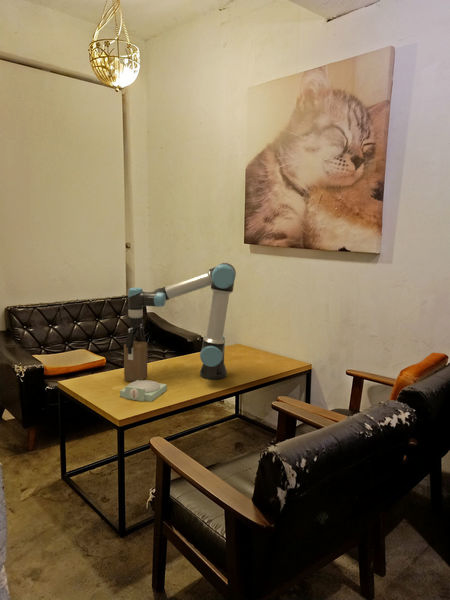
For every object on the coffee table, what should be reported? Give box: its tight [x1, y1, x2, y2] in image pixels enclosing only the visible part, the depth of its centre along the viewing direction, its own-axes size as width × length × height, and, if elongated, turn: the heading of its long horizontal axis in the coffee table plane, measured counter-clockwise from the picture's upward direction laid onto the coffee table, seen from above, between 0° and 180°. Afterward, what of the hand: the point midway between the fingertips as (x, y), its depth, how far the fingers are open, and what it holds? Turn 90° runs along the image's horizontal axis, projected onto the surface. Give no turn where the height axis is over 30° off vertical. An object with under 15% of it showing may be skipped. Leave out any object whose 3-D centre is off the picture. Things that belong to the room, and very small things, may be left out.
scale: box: [119, 379, 168, 403], centre depth 226 cm, size 17×19×6 cm
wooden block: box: [123, 340, 148, 382], centre depth 246 cm, size 10×10×20 cm
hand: (135, 356), depth 246 cm, fingers closed on wooden block, 10 cm apart
